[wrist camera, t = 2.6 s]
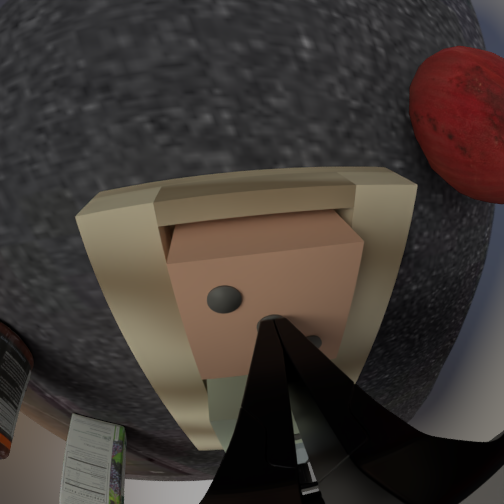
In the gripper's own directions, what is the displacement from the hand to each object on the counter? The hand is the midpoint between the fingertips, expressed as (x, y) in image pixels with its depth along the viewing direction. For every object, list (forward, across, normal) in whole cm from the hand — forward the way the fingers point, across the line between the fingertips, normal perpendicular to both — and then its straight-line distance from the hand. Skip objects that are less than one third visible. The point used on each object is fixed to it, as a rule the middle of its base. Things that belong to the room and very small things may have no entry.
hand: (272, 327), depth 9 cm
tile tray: (+4, 0, +7) cm, 8 cm away
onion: (+4, -8, -7) cm, 11 cm away
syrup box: (+4, +17, +19) cm, 26 cm away
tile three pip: (+3, 0, 0) cm, 3 cm away
